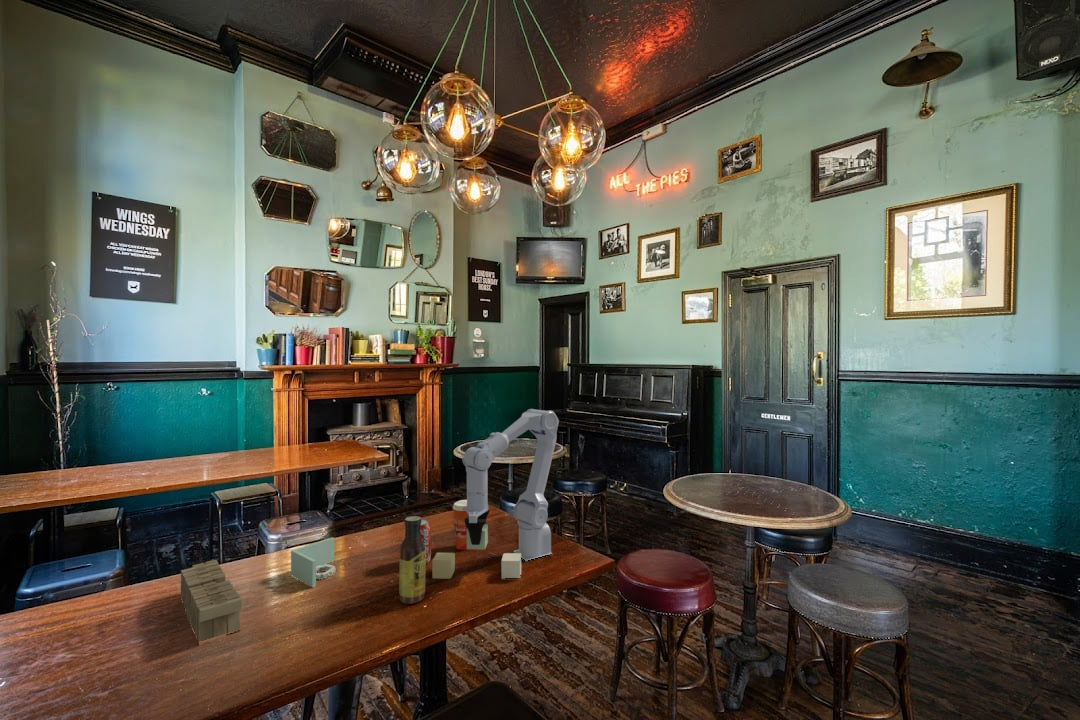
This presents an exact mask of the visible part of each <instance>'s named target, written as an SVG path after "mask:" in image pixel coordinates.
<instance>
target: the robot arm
mask: <svg viewBox="0 0 1080 720" xmlns="http://www.w3.org/2000/svg"><path fill="white" fill-rule="evenodd" d="M559 422H560V420H559V418H558V416H557V415H556V413H555V411H553V410H543V409H534V408H529V409H527V410H526V411H524V412H523V413H522V414H521V416H520V417H519V418H518V419H517V420H515V421H514V422H513V423H512V424H511V425H509V426H508V427H507V428H506V429H504V430H503V431H501V432H499V431H496V432H491V433H489V437H488V438H486V439H484V440H482V442H481V441H480V442H477V445H476V446H471V447H469V448H468V449H466V451H465V452H464V454H463V457H462V458H461V459H462V460H461V461H462V463H463V465H464V466H465V472H466V500H467V506H464V507H463V511H467V513H468V515H469V518H465V520H464V522H465V525H466V526H467V528H468V531H469V535H470V539H471V543H472V545H479V544H480V541H481V534H482V528H483V525H484V524H486V522H487V518H488V515H489V513H490V512H491V511H490V508H489V501H488V500H489V499H488V496H489V495H488V494H489V493H488V492H489V490H488V482H489V481H488V480H489V478H488V470H489V468H490V466H491V465H492V462H493V461H494V460H495V459H496V458H497V457H499V455H501V454H502V453H503V452H504V451H506V450H508V448H509V444H510V442H512V441H513V440H515V439H516V438H518V437H519V436H521V435H522V434H524V433H526V432H528V430H529V431H530V432H531V433H532V434H533V435H534V436H535V438H536V440H537V446H536V449H535V454H534V457H533V461H532V466H531V470H530V473H529V478H528V482H527V486H526V490H525V491H524V492H523V493H521V494H519V497H518V500H517V502H516V503H515V505H514V508H513V517H514V518H515V520H517V525H518V549H515V550H513V553H521V558H522V559H521V560H523V559H524V560H525V561H524V560H523V561H524V562H529V561H528V560H530V561H532V560H531V559H534V560H536V559H535V558H538V557H542V556H545V555H550V554H552V555H553V553H552V532H551V528H550V526H549V524H548V523H547V521H548V515H549V514H548V507H549V502H548V501H547V499H546V498H545V495H544V493H545V489H546V486H547V482H548V478H549V477H548V476H549V473H550V469H551V465H552V459H553V456H554V452H555V448H556V444H557V439H558V438H557V432H558V427H559V424H560V423H559ZM550 556H551V555H550ZM542 558H543V557H542ZM538 559H539V558H538Z"/></svg>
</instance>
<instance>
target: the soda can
mask: <svg viewBox="0 0 1080 720" xmlns="http://www.w3.org/2000/svg"><path fill="white" fill-rule="evenodd" d="M431 528H432V527H431V525H430V524H429V520H428V519H427V518H421V537H422V540H423V543H424V546H425V549H426V560H425V562H426V564H427V563H428V562H430V560H431V554H432V547H431V546H432V531H431V530H432V529H431Z"/></svg>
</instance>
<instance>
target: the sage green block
mask: <svg viewBox="0 0 1080 720" xmlns="http://www.w3.org/2000/svg"><path fill="white" fill-rule="evenodd" d="M488 526H489V524H486V523H485V524H484V525H483V528H482V534H481V541H480V544H479V545H472V543H471V539H470V535H469V531H468V529H467V549H469V550H486V548H487V545H488V544H489V539H488V538H489V531H488V529H489V527H488Z"/></svg>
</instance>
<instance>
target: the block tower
mask: <svg viewBox="0 0 1080 720" xmlns="http://www.w3.org/2000/svg"><path fill="white" fill-rule="evenodd" d="M181 599H182V601H183V604H184V607H183V609H184V608H185V609H186V612H185V614H186V613H187V616H188V618H189V620H190V623H191V625H192V628H193V630H194V632H195V635H196V636H197V639H198V641H199V642H200V641H204V640H207V639H210V638H213V637H217V636H220V635H223V634H226V633H229V632H233V631H236V630H239V629H241V630H242V626H241V623H242V622H241V611H242V610H243V598H242V597H241V595H240V594H239V592H237V589H235V587H234V586H233V584H232V582H231V580H230V579H228V580H226V573H225V572H224V571H223V569H222V567H221V566H220V564H219V562H218V560H217V559H213V560H210V561H206V562H202V563H197V564H193V565H192V567H190V568H186V569H185V568H184V569H181V570H180V600H181ZM183 604H182V605H183ZM187 616H186V617H187ZM190 623H189V624H190ZM191 625H190V626H191ZM192 628H191V629H192ZM195 635H194V636H195ZM197 639H196V640H197Z"/></svg>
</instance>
